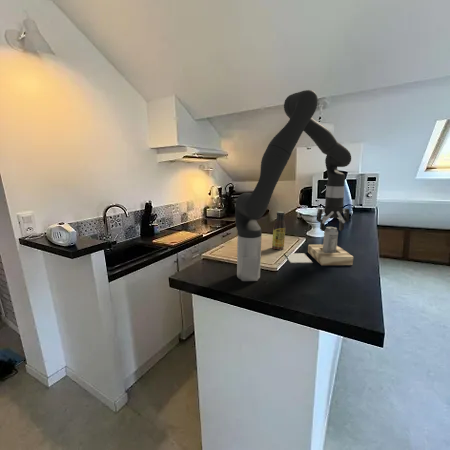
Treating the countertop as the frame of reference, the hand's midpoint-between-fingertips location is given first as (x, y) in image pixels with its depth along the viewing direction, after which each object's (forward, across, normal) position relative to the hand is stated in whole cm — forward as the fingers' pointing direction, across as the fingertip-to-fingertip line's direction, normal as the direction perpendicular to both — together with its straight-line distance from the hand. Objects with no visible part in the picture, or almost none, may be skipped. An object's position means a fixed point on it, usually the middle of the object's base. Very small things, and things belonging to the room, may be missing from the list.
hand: (331, 230), depth 121 cm
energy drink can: (+14, 0, 0) cm, 14 cm away
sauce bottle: (+14, -21, +15) cm, 29 cm away
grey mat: (+14, -15, 0) cm, 20 cm away
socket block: (+14, 0, 0) cm, 14 cm away
